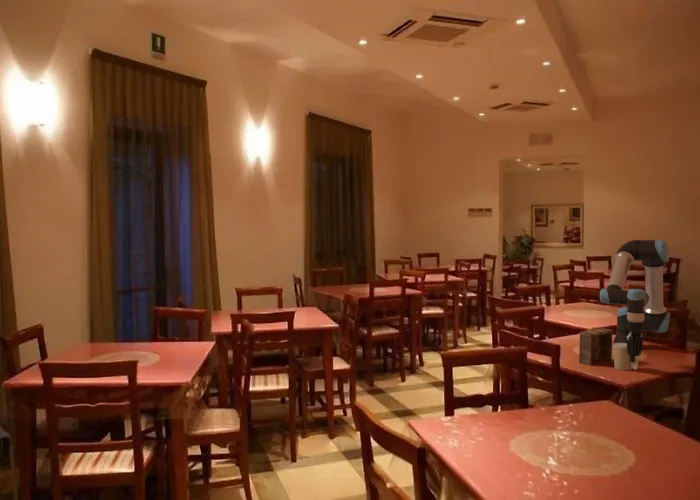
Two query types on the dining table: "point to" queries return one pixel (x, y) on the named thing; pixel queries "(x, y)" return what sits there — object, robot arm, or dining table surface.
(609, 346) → the cubby
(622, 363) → the coffee cup
